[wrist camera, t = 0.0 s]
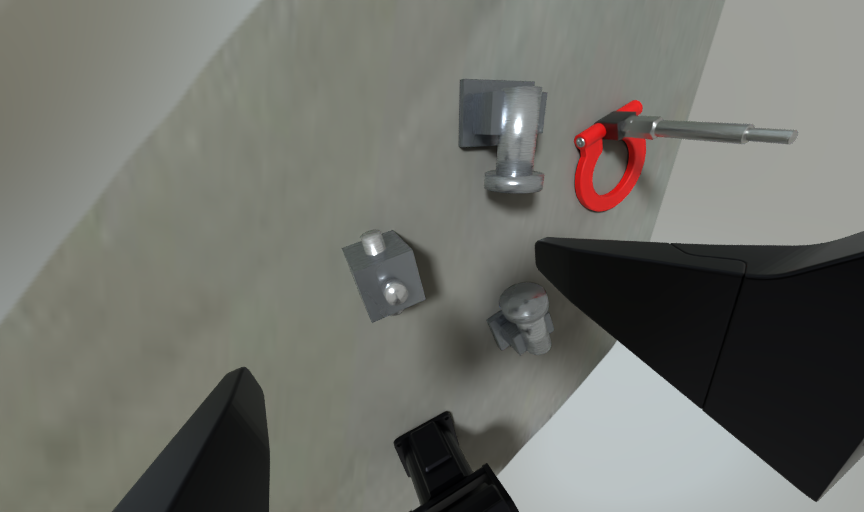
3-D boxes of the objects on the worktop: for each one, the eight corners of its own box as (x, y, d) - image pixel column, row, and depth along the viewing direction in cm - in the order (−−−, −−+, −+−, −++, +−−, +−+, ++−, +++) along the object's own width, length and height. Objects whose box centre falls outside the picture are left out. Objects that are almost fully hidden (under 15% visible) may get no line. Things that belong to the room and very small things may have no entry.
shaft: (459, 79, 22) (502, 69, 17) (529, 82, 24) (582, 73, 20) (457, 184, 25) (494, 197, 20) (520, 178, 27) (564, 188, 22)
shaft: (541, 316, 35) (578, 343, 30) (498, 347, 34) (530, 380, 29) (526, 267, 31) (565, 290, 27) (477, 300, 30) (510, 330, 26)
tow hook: (636, 183, 34) (634, 94, 29) (801, 219, 23) (845, 89, 18) (576, 223, 32) (563, 138, 27) (722, 281, 22) (746, 160, 17)
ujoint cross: (408, 285, 26) (436, 321, 22) (363, 304, 25) (381, 346, 20) (388, 215, 23) (414, 239, 19) (336, 233, 22) (349, 263, 17)
